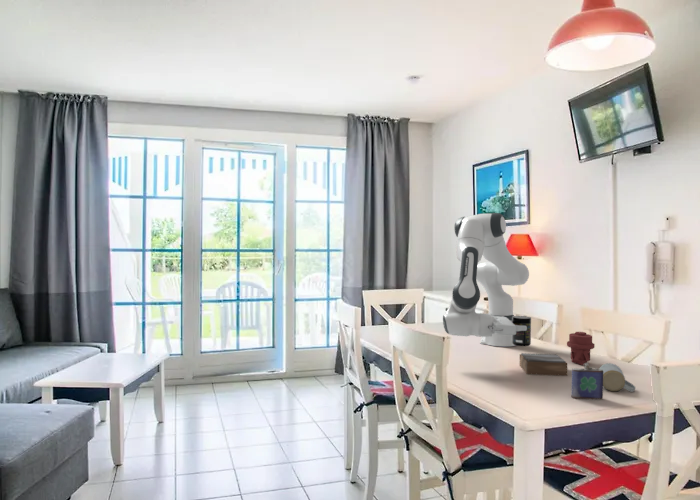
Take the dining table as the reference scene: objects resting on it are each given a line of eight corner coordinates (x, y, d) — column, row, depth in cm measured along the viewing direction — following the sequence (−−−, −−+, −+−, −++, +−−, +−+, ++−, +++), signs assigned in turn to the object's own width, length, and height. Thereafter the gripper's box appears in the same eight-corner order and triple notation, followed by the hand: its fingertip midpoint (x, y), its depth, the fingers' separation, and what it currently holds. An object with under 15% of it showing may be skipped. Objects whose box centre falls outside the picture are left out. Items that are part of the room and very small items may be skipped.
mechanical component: (590, 361, 204) (597, 367, 195) (564, 359, 206) (569, 365, 197) (590, 330, 204) (597, 335, 194) (564, 329, 206) (570, 334, 196)
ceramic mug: (600, 391, 163) (601, 367, 162) (597, 384, 170) (597, 361, 170) (637, 395, 159) (638, 371, 159) (632, 388, 167) (633, 365, 167)
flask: (572, 398, 154) (573, 364, 154) (569, 395, 157) (570, 361, 157) (604, 399, 154) (604, 364, 153) (600, 397, 156) (600, 362, 156)
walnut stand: (519, 365, 196) (519, 352, 196) (557, 366, 194) (557, 354, 194) (527, 374, 183) (527, 360, 183) (567, 375, 181) (567, 361, 181)
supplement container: (532, 343, 191) (532, 316, 191) (529, 347, 185) (529, 319, 185) (513, 342, 194) (514, 315, 194) (510, 345, 188) (510, 317, 188)
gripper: (490, 321, 181) (530, 322, 179) (483, 313, 201) (518, 313, 199) (490, 338, 181) (530, 339, 179) (482, 328, 201) (518, 329, 200)
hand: (524, 326), depth 190 cm, fingers closed on supplement container, 7 cm apart
